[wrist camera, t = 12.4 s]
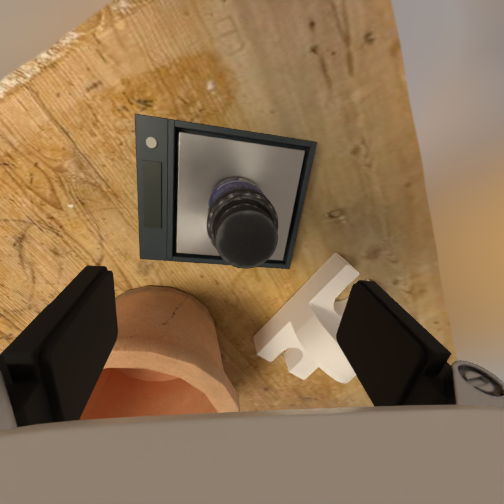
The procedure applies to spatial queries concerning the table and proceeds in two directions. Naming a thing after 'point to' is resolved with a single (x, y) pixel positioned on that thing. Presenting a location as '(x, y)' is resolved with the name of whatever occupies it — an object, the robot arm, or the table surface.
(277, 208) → the scale pan
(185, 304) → the pottery
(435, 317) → the table surface
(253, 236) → the pill bottle
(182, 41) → the table surface
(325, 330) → the block with arch cutout
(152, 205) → the scale
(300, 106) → the table surface
